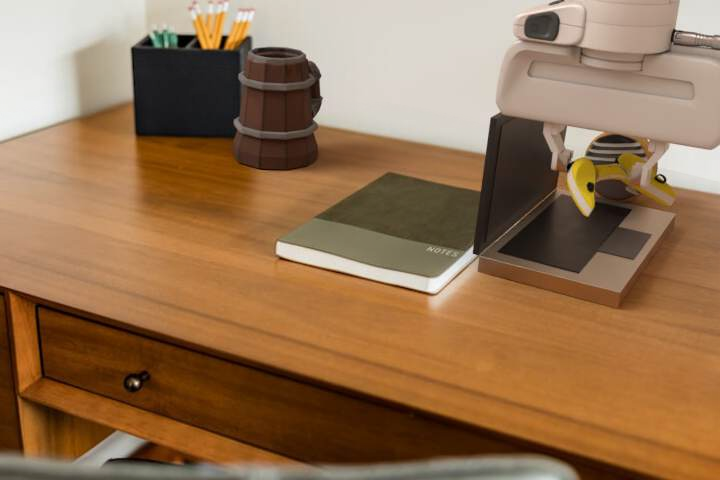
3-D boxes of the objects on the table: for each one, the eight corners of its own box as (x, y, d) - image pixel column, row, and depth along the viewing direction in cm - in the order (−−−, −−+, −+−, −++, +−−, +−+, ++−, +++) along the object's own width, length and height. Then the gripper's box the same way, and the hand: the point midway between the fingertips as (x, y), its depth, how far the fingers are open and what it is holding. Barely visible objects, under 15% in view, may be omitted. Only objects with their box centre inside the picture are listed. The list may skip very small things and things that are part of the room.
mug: (282, 176, 121) (284, 65, 115) (216, 157, 127) (214, 51, 121) (349, 150, 133) (354, 48, 127) (286, 133, 139) (287, 36, 133)
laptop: (673, 227, 110) (676, 212, 109) (617, 308, 89) (620, 291, 88) (555, 201, 117) (557, 187, 116) (477, 271, 96) (479, 255, 95)
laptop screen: (577, 73, 110) (570, 72, 110) (497, 119, 89) (490, 117, 89) (557, 188, 116) (551, 186, 116) (479, 255, 95) (472, 254, 95)
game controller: (627, 170, 88) (643, 144, 86) (663, 217, 85) (681, 191, 82) (545, 180, 84) (560, 152, 82) (579, 229, 80) (596, 202, 78)
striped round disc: (575, 193, 120) (586, 120, 116) (588, 186, 123) (599, 115, 119) (642, 211, 115) (656, 136, 111) (654, 204, 117) (668, 130, 113)
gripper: (756, 32, 74) (724, 189, 80) (521, 6, 83) (507, 148, 89) (745, 45, 69) (711, 211, 75) (496, 15, 78) (483, 166, 84)
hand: (599, 177), depth 82 cm, fingers closed on game controller, 6 cm apart
